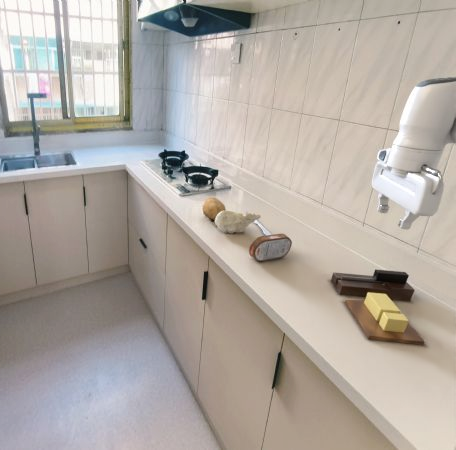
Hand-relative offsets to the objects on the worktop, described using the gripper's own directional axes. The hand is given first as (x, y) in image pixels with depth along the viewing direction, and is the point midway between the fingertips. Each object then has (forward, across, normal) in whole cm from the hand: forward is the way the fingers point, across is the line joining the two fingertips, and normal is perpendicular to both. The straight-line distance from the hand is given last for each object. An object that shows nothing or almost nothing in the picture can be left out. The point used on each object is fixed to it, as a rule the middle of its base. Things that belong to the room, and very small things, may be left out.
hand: (392, 219), depth 78 cm
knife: (+25, +10, -6) cm, 27 cm away
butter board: (+26, -4, -3) cm, 26 cm away
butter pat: (+24, -8, -3) cm, 26 cm away
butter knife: (+26, +52, +18) cm, 61 cm away
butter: (+24, -2, -3) cm, 25 cm away
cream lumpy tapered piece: (+26, +44, +28) cm, 59 cm away
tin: (+26, +24, +19) cm, 40 cm away
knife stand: (+26, +10, -6) cm, 28 cm away
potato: (+26, +55, +36) cm, 70 cm away
